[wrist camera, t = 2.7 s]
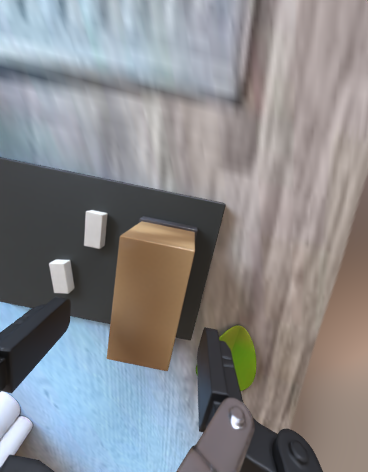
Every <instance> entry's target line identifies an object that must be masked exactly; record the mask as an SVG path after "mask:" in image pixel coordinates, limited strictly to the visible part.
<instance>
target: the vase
mask: <svg viewBox="0 0 368 472" xmlns="http://www.w3.org/2000/svg"><path fill="white" fill-rule="evenodd" d="M19 415H20V406H19V404H18V402H17V401H16V400H15V399H14V398H13V397H12V396H11V395H9V394H8V393H6V392H3V391H1V392H0V467H1V466H2V465H3V463H4V462H5V460H6V459H7V457H8V456H9V454H10V455H15V453H16V452H17V450H18V449H19V447H20V446H21V444H22V443H23V441H24V440H25V438H26V437H27V435H28V434H29V432H30V431H31V429H32V428H33V424H32V422H31V421H30V420H29V419H28V418H26V417H24V416H19Z"/></svg>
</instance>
